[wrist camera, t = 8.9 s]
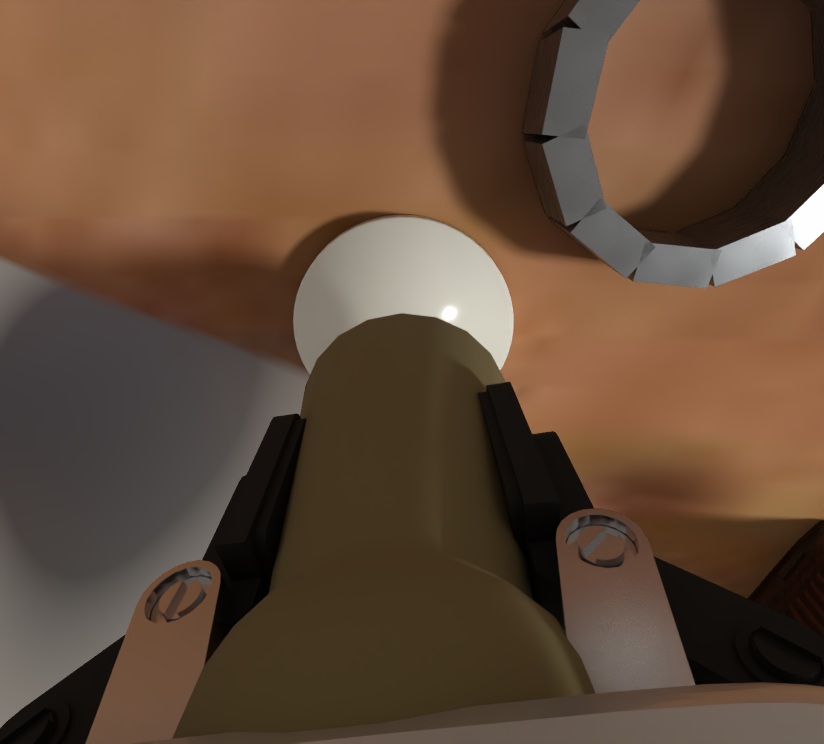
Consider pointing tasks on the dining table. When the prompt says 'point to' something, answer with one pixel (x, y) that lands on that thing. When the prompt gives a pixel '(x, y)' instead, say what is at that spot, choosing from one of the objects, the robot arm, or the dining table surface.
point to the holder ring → (645, 249)
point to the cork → (389, 555)
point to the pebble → (402, 284)
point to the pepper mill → (798, 582)
